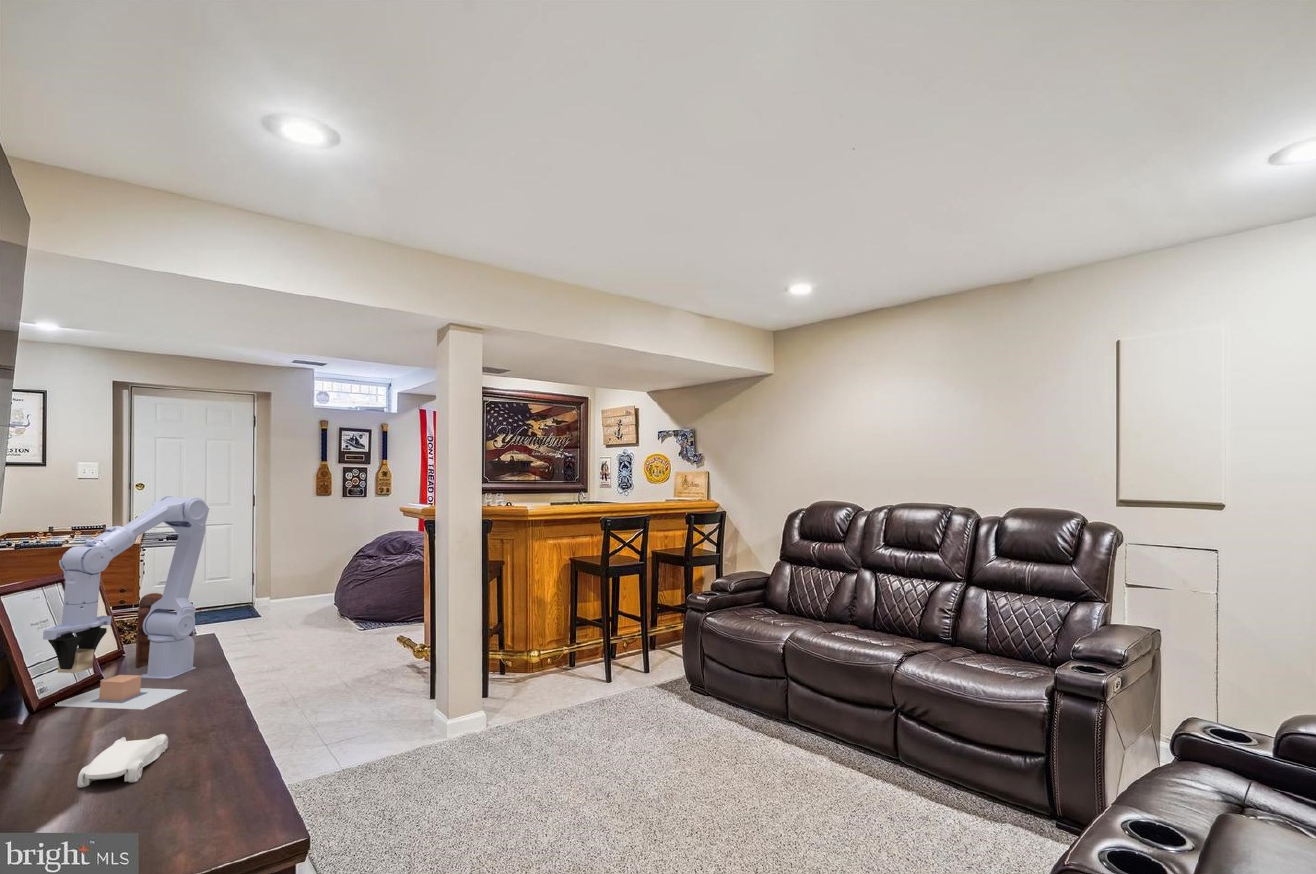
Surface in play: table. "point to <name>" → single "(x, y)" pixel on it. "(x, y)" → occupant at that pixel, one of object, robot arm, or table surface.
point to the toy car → (123, 760)
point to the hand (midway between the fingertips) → (75, 665)
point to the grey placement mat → (136, 702)
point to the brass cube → (80, 661)
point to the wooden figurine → (142, 638)
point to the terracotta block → (120, 687)
